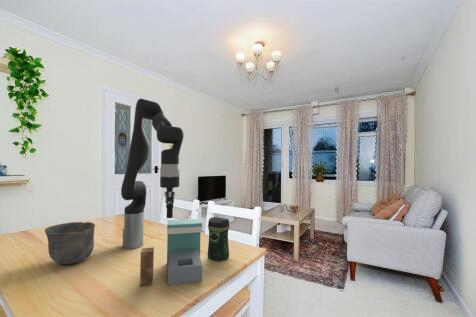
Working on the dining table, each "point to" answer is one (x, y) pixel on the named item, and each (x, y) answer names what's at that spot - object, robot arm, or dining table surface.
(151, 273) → the walnut peg
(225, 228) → the coffee jar
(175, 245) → the teal two-tone block
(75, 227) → the cup
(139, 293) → the dining table surface
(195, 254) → the socket block
